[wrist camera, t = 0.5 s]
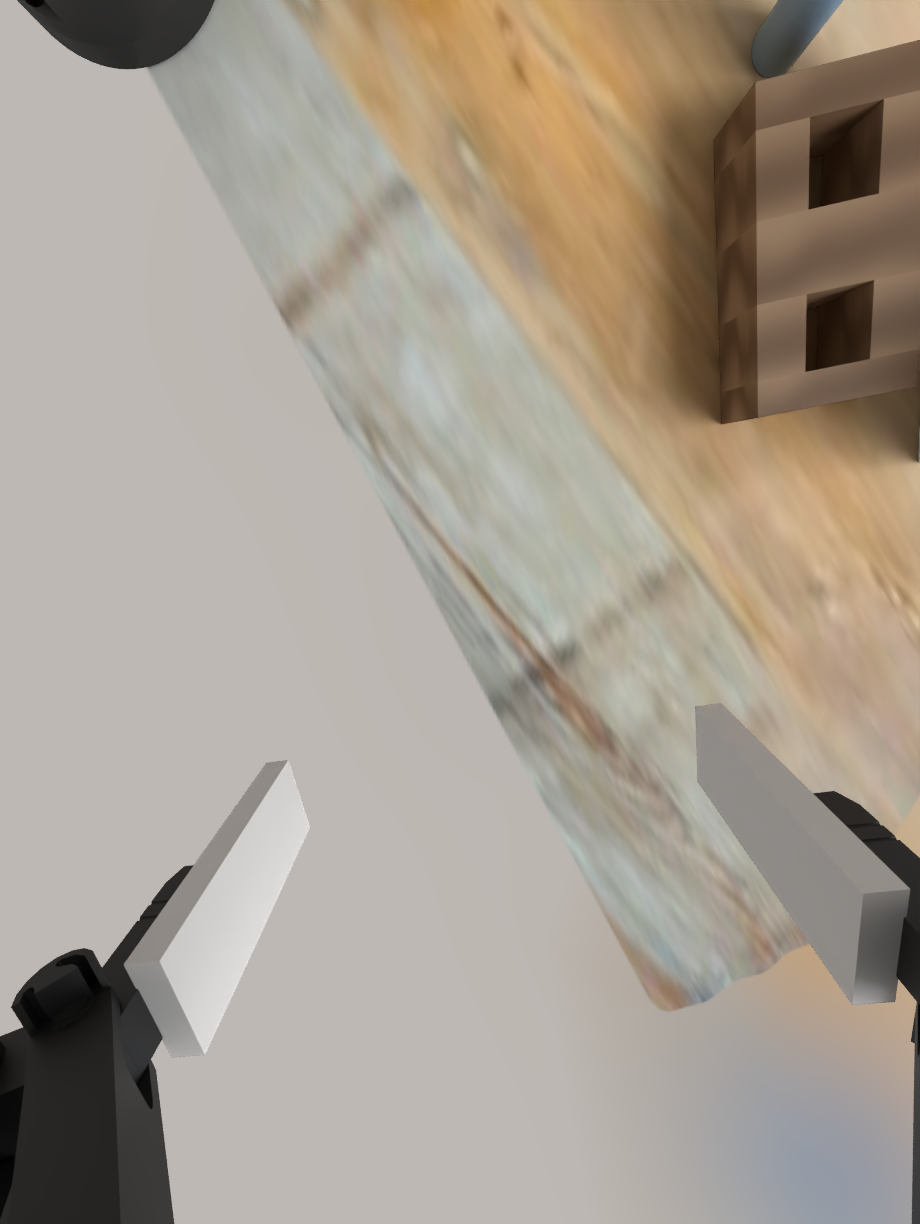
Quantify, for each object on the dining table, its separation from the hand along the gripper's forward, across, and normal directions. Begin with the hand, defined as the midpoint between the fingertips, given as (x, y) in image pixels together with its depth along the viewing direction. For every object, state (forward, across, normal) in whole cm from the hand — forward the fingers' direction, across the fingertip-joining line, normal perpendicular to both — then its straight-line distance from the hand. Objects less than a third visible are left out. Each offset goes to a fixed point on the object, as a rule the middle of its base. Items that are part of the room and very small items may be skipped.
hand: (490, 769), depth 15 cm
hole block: (+27, +25, +18) cm, 41 cm away
